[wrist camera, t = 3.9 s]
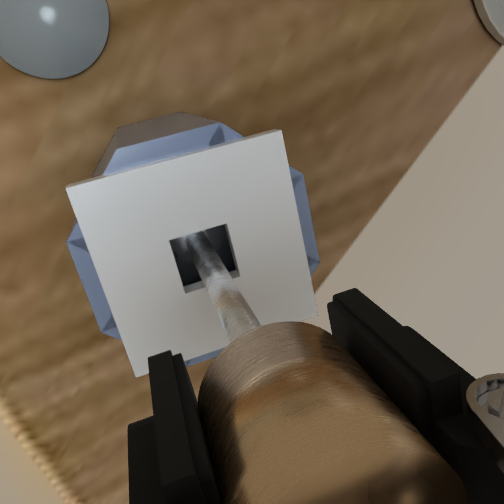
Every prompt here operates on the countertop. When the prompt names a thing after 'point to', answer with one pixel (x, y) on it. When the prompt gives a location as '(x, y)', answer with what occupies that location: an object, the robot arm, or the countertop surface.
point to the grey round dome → (53, 35)
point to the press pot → (187, 222)
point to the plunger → (300, 409)
